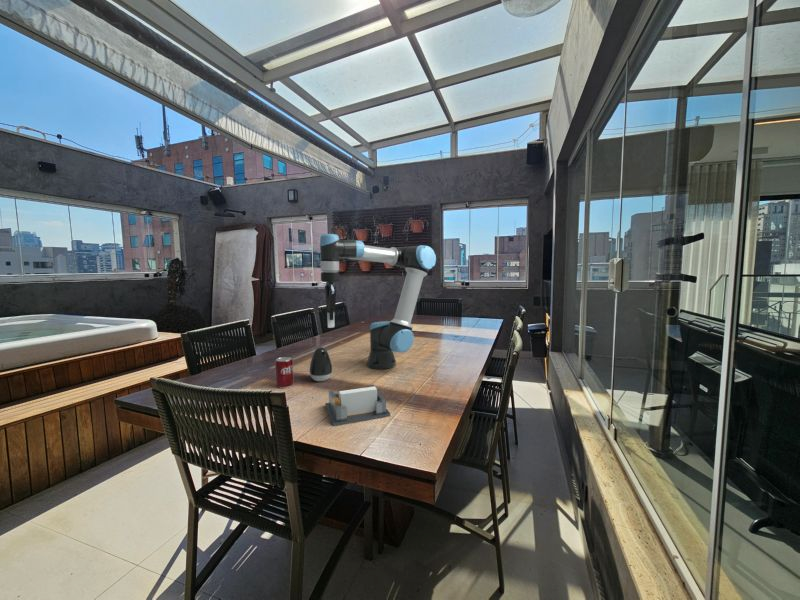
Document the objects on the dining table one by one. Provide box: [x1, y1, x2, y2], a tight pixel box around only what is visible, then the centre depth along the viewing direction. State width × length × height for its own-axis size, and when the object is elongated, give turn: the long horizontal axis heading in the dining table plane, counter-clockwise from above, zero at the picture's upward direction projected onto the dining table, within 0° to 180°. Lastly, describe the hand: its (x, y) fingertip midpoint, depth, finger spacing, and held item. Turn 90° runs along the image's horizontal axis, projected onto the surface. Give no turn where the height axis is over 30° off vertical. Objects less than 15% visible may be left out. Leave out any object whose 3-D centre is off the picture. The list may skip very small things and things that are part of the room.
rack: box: [324, 384, 391, 427], centre depth 122 cm, size 20×17×7 cm
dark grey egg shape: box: [309, 346, 333, 382], centre depth 154 cm, size 10×10×15 cm
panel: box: [338, 385, 378, 416], centre depth 119 cm, size 13×3×8 cm, turn 112°
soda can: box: [274, 356, 295, 389], centre depth 147 cm, size 7×7×12 cm
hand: (331, 327), depth 143 cm, fingers closed
